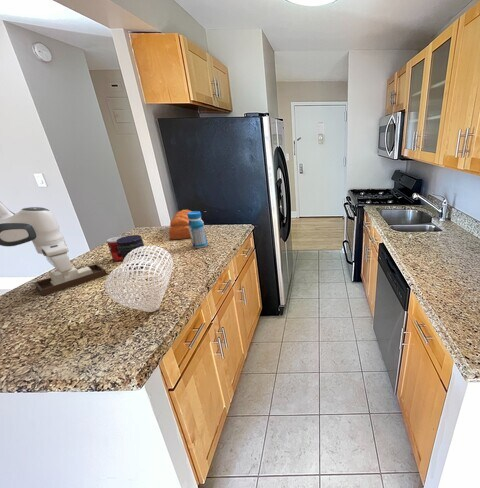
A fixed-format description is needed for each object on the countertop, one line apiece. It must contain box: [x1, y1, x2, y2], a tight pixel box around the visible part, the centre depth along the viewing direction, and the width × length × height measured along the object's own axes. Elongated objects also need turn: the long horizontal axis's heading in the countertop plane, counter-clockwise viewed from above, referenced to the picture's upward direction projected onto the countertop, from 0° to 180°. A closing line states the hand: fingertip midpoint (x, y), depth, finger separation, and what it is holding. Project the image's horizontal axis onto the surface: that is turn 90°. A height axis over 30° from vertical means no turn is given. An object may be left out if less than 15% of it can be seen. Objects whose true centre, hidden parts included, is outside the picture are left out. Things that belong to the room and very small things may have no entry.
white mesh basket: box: [104, 245, 174, 313], centre depth 91 cm, size 28×16×22 cm, turn 18°
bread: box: [168, 209, 193, 240], centre depth 173 cm, size 16×31×13 cm, turn 19°
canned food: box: [106, 235, 124, 262], centre depth 134 cm, size 8×8×11 cm
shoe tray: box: [34, 263, 108, 297], centre depth 114 cm, size 21×11×3 cm, turn 146°
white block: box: [48, 266, 93, 286], centre depth 114 cm, size 13×6×5 cm, turn 146°
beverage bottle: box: [187, 210, 209, 249], centre depth 148 cm, size 8×8×20 cm
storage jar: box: [116, 234, 150, 271], centre depth 124 cm, size 10×10×15 cm
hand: (63, 275), depth 112 cm, fingers open, 8 cm apart
